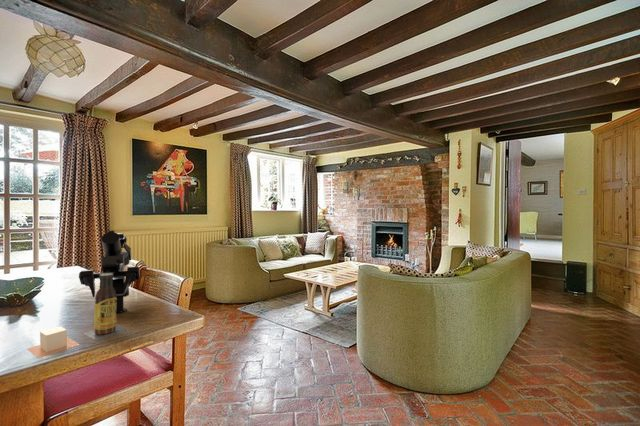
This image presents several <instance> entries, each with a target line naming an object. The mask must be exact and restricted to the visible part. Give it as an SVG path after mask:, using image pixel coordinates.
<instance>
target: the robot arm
mask: <svg viewBox="0 0 640 426" xmlns="http://www.w3.org/2000/svg"><path fill="white" fill-rule="evenodd" d="M100 242H101V245H102V250H103V251H104V255H103V256H101V263H100V271H101V272H94V270H93V269H87V270H86V269H85V270H80V272H79V273H78V279H79V282H80V284H81V285H83V286H85V287H88V288H89V289H90V292H91V295H92V298H95V296H96V282H95V281H96V280H95V279H99V276H100V275H101V274H107V273H112V274H113V275H114V278H113V288H114V290H115V292H116V297H117V306H116V314H119V313H122V312H126V311H128V308H125V307H124V300H125V299H124V298H127V296H130V286H131V285H132V283H134V282H136V281H137V280H140V279H141V273H140V267H139V266H128V265H129V264H130V262H131V261H132V248H131V247H130V246H129V245H128V244H127V242H128V237H127V236H126V235H125V234H124V233H122V232H120V233H116V231H115V230H108V232H107V233H105V234H103V235H101V239H100ZM123 249H124V250H123ZM126 266H128V267H127V269H126V270H125V267H126Z"/></svg>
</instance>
